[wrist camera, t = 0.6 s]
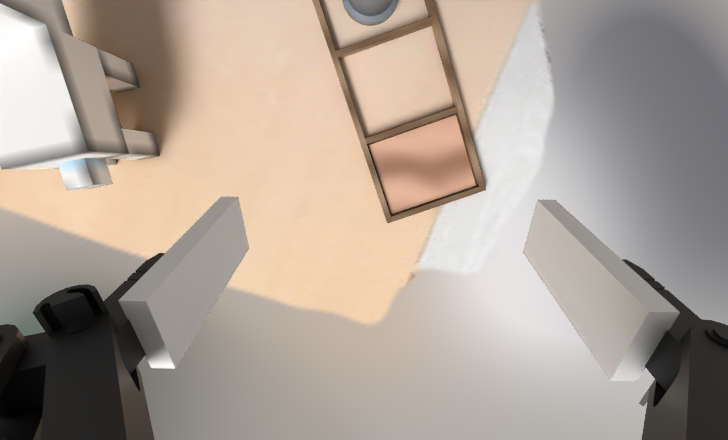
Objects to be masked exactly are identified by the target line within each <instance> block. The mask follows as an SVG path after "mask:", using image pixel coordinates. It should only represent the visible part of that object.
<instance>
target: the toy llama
mask: <svg viewBox="0 0 728 440" xmlns="http://www.w3.org/2000/svg"><path fill="white" fill-rule="evenodd" d="M135 88H140V87H139V84H138V81H137V77H136V74H135V71H134V67H133V64H131V63H129V62H127V61H125V60H123V59H121V58H118V57H116V56H114V55H112V54H110V53H107V52H105V51H103V50H101V49H99V48H96V47H94V46H92V45H90V44H88V43H86V42H83V41H81V40H79V39H77V38H75V37H73V34H72V31H71V28H70V25H69V22H68V19H67V16H66V13H65V10H64V7H63V3H62V0H0V166H1V169H60V172H61V175H62V178H63V181H64V184H65V186H66V189H67V190H79V189H90V188H95V187H100V186H104V185H109V184H113V182H112V179H111V176H110V173H109V170H108V167H107V166H111V165H116V164H117V162H116V159H125V160H141V159H145V158H150V157H155V156H160V155H159V151H158V148H157V145H156V141H155V138H154V134H153V133H148V132H142V131H135V130H129V129H123V128H121V125H120V122H119V119H118V116H117V112H116V109H115V106H114V103H113V100H112V96H111V93H110V90H112V91H115V92H121V91H126V90H131V89H135Z"/></svg>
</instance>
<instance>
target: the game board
mask: <svg viewBox="0 0 728 440" xmlns="http://www.w3.org/2000/svg"><path fill="white" fill-rule="evenodd" d="M313 3H314V6H315V9H316V12H317V15H318V18H319V21H320V24H321V27H322V30H323V33H324V36H325V39H326V42H327V45H328V48H329V51H330V54H331V57H332V60H333V63H334V66H335V69H336V72H337V75H338V78H339V81H340V84H341V87H342V89H343V92H344V95H345V98H346V101H347V104H348V107H349V110H350V113H351V116H352V119H353V122H354V125H355V128H356V131H357V134H358V137H359V140H360V143H361V146H362V149H363V152H364V155H365V158H366V161H367V164H368V167H369V170H370V173H371V176H372V179H373V182H374V185H375V188H376V191H377V194H378V197H379V200H380V203H381V206H382V209H383V212H384V214H385V217H386V220H387V223H390V222H393V221H396V220H399V219H402V218H405V217H408V216H411V215H414V214H417V213H420V212H423V211H426V210H428V209H431V208H434V207H437V206H440V205H443V204H446V203H449V202H452V201H455V200H458V199H461V198H464V197H467V196H470V195H473V194H476V193H478V192H481V191H484V190H486V187H485V184H484V180H483V177H482V173H481V170H480V166H479V162H478V159H477V155H476V152H475V148H474V145H473V141H472V137H471V134H470V130H469V127H468V123H467V120H466V116H465V112H464V109H463V105H462V102H461V98H460V95H459V91H458V87H457V84H456V80H455V77H454V73H453V69H452V66H451V62H450V59H449V55H448V52H447V48H446V44H445V41H444V37H443V34H442V30H441V27H440V23H439V19H438V16H437V12H436V9H435V5H434V2H433V0H425V4H426V7H427V11H428V14H429V18H426V19H423V20H421V21H418V22H415V23H412V24H410V25H407V26H404V27H401V28H398V29H396V30H393V31H390V32H387V33H385V34H382V35H379V36H376V37H374V38H371V39H368V40H365V41H362V42H360V43H357V44H354V45H351V46H349V47H346V48H343V49H340V50H338V51H336V50H335V47H334V44H333V41H332V38H331V35H330V32H329V29H328V26H327V23H326V20H325V17H324V14H323V11H322V8H321V5H320V2H319V0H313ZM429 26H432V28H433V32H434V35H435V39H436V42H437V46H438V50H439V53H440V57H441V60H442V64H443V67H444V71H445V74H446V78H447V81H448V85H449V88H450V92H451V95H452V99H453V102H454V106H455V107H454V108H451V109H448V110H445V111H443V112H440V113H437V114H434V115H431V116H428V117H425V118H423V119H420V120H417V121H414V122H411V123H408V124H405V125H403V126H400V127H397V128H394V129H391V130H388V131H386V132H383V133H380V134H377V135H374V136H371V137H368V138H366V139H365V137H364V134H363V131H362V128H361V125H360V122H359V119H358V116H357V113H356V110H355V107H354V104H353V101H352V98H351V95H350V92H349V89H348V86H347V83H346V80H345V77H344V74H343V71H342V68H341V65H340V62H339V59H340V58H343V57H346V56H348V55H351V54H354V53H357V52H360V51H362V50H365V49H368V48H371V47H373V46H376V45H379V44H382V43H385V42H387V41H390V40H393V39H396V38H398V37H401V36H404V35H407V34H410V33H412V32H415V31H418V30H421V29H423V28H426V27H429ZM455 113H457V116H458V120H459V123H458V120H457V116H456V115H454V116H451V117H448V118H445V119H442V120H440V121H437V122H434V123H431V124H428V125H425V126H422V127H420V128H417V129H414V130H411V131H408V132H405V133H402V134H399V135H397V136H394V137H391V138H388V139H385V140H382V141H379V142H377V143H374V144H371V145H369V148H370V151H371V154H372V157H373V160H374V163H375V166H376V169H377V172H378V175H379V178H380V181H381V184H382V187H383V190H384V193H385V196H386V199H387V202H388V205H389V208H390V211H391V214H394V213H397V212H400V211H403V210H406V209H409V208H412V207H415V206H418V205H420V204H423V203H426V202H429V201H432V200H435V199H438V198H441V197H444V196H447V195H450V194H453V193H456V192H459V191H461V190H464V189H467V188H470V187H473V186H476V183H477V187H474V188H471V189H468V190H465V191H462V192H459V193H456V194H453V195H450V196H447V197H444V198H441V199H438V200H435V201H433V202H430V203H427V204H424V205H421V206H418V207H415V208H412V209H409V210H406V211H403V212H400V213H397V214H394V215H390V212H389V209H388V206H387V203H386V200H385V197H384V194H383V191H382V188H381V185H380V182H379V179H378V176H377V173H376V170H375V167H374V164H373V161H372V158H371V155H370V152H369V149H368V146H367V144H369V143H372V142H375V141H378V140H380V139H383V138H386V137H389V136H392V135H395V134H398V133H400V132H403V131H406V130H409V129H412V128H415V127H418V126H420V125H423V124H426V123H429V122H432V121H435V120H438V119H441V118H443V117H446V116H449V115H452V114H455ZM459 124H460V127H461V130H460V127H459ZM461 131H462V134H463V137H462V134H461ZM463 138H464V141H465V144H464V141H463ZM465 145H466V148H467V151H466V148H465ZM467 152H468V155H469V158H468V155H467ZM469 159H470V162H471V165H470V162H469ZM471 166H472V169H473V173H474V176H475V180H476V183H475V180H474V176H473V173H472V169H471Z"/></svg>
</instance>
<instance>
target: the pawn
mask: <svg viewBox="0 0 728 440" xmlns="http://www.w3.org/2000/svg"><path fill="white" fill-rule="evenodd" d="M397 1H398V0H343V5H344V7H345V9H346V11H347V13H348V14H349V16H350V17H351V18H352V19H354V20H355V21H356V22H358V23H360V24H363V25H368V26H372V25H377V24H380V23H382V22H384V21H386V20H387V19H388V18H389V17H390V16H391V15H392V13H393V12H394V10H395V8H396V5H397Z"/></svg>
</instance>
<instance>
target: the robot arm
mask: <svg viewBox="0 0 728 440" xmlns="http://www.w3.org/2000/svg"><path fill="white" fill-rule="evenodd" d="M248 249H249V245H248V241H247V236H246V231H245V227H244V222H243V217H242V212H241V208H240V203H239V198H238V197H220V198H219V199H218V200H217V202H216V203H215V204H214V205H213V206H212V207H211V208H210V209H209V210H208V211H207V212H206V213H205V214H204V215H203V216H202V217H201V218H200V219H199V220H198V221H197V222H196V223H195V224H194V225H193V226H192V227H191V228H190V229H189V230H188V231H187V232H186V233H185V234H184V235H183V236H182V237H181V238H180V239H179V240H178V241H177V242H176V243H175V244H174V245H173V246H172V247H171V248H170V249H169V250H168V251H167V252H166V253H159V254H157V255H156V256H154V257H152V258H150V259H149V260H147V261H145V263H143V264H142V265H141V266H140V267H139V268H138V269H137V270H136V273H133V274H132V275H131V276H130V277H129V278H128V280H127V281H125V282H124V283H123V284H121V286H119V287H118V288H117V289H116V290H115V291H114V292H113V293H112V294H111V295H110V296H109V297H108V298H107V299H106V300H105V301H104V302H103V300H102V298H101V297H100V294H99V293H98V291H97V289H96V288H95V287H94V286H91V285H77V286H73V287H69V288H65V289H63V290H60V291H58V292H56V293H54V294H52V295H50V296H49V297H47V298H45V299H44V300H42V301H41V302H40V303H39V304H38V305H37V306H36V307H35V309H34V311H33V314H34V315H35V317H36V318H37V320H38V321H39V323H40V324H41V326H42V327H43V329H44V330H45V332H44V333H39V334H34V335H29V336H23V335H22V333H21V332H20V331H19V329H18V328H17V327H16V326H15V325H9V324H6V325H0V440H154V435H153V431H152V426H151V421H150V416H149V411H148V407H147V402H146V398H145V392H144V387H143V383H142V378H141V373H140V371H139V369H138V368H137V365H138V364H139V362H140V361H141V360H142V358H143V357H144V356H146V358H147V360H148V362H149V364H150V366H151V368H176V367H177V365H178V363H179V362H180V360H181V359H182V357H183V355H184V354H185V352H186V350H187V349H188V347H189V346H190V344H191V342H192V341H193V339H194V337H195V336H196V334H197V332H198V331H199V329H200V328H201V326H202V324H203V323H204V321H205V319H206V318H207V316H208V314H209V313H210V311H211V310H212V308H213V306H214V305H215V303H216V301H217V300H218V298H219V296H220V295H221V293H222V292H223V290H224V288H225V287H226V285H227V284H228V282H229V280H230V279H231V277H232V275H233V274H234V272H235V270H236V269H237V267H238V266H239V264H240V262H241V261H242V259H243V257H244V256H245V254H246V253H247V251H248ZM523 254H524V255H525V256H526V258H527V259H528V261H529V262H530V264H531V265H532V267H533V268H534V270H535V271H536V272H537V274H538V276H539V277H540V278H541V280H542V281H543V283H544V284H545V286H546V287H547V289H548V290H549V292H550V293H551V295H552V296H553V297H554V299H555V301H556V302H557V303H558V305H559V306H560V308H561V309H562V311H563V312H564V314H565V315H566V316H567V318H568V320H569V321H570V322H571V324H572V325H573V327H574V328H575V330H576V331H577V333H578V334H579V336H580V337H581V339H582V340H583V342H584V343H585V344H586V346H587V347H588V349H589V350H590V352H591V353H592V355H593V356H594V358H595V359H596V361H597V362H598V364H599V365H600V366H601V368H602V369H603V371H604V372H605V374H606V375H607V376H608V378H609V380H610V381H637V380H638V379H639V377H640V376H641V374H642V372H643V371H644V369H645V368H647V369H648V371H649V372H650V373H651V374H652V376H653V377H654V378H655V380H654V382H653V383H652V385H651V386H650V388H649V389H648V391H647V392H646V394H645V395H644V397H643V398H642V400H641V401H640V403H639V404H641V405H643V406H644V405H645V404H646V402H648V403H647V409H646V415H645V422H644V429H643V435H642V440H728V326H727V325H725V324H722V323H718V322H715V321H712V320H701V319H700V318H699V317H698V316H697V315H695V314H694V313H693V312H692V311H691V310H690V309H689V308H687V307H686V306H685V305H684V304H683V303H682V302H680V301H679V300H678V299H677V298H676V297H675V296H674V295H672V294H671V293H670V292H669V291H668V290H665V289H664V287H663V286H662V285H661V284H660V283H658V282H657V281H655V280H654V278H653V277H652V276H650V275H649V274H648V273H647V272H646V271H645V270H643V269H642V268H640V267H639V266H637V265H635V264H633V263H631V262H629V261H628V260H621V259H620V258H619V257H618V256H617V255H616V254H615V253H614V252H613V251H611V250H610V249H609V248H608V247H607V246H606V245H605V244H604V243H603V242H601V241H600V240H599V239H598V238H597V237H596V236H595V235H593V233H591V232H590V231H589V230H588V229H587V228H586V227H585V226H584V225H583V224H581V223H580V222H579V221H578V220H577V219H576V218H575V217H574V216H573V215H572V214H570V213H569V212H568V211H567V210H566V209H565V208H564V207H563V206H562V205H560V204H559V203H558V202H557V201H556V200H537V203H536V206H535V210H534V214H533V217H532V221H531V224H530V228H529V232H528V236H527V239H526V242H525V246H524V250H523Z"/></svg>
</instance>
